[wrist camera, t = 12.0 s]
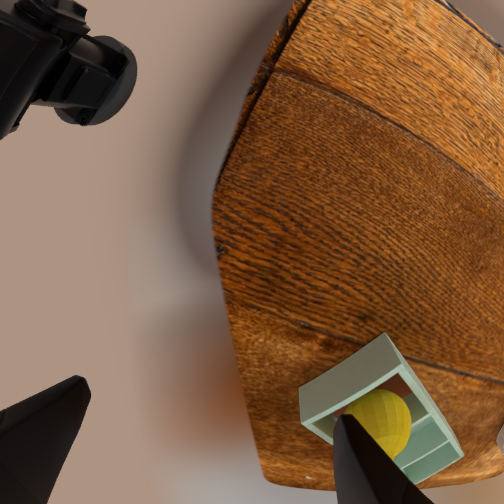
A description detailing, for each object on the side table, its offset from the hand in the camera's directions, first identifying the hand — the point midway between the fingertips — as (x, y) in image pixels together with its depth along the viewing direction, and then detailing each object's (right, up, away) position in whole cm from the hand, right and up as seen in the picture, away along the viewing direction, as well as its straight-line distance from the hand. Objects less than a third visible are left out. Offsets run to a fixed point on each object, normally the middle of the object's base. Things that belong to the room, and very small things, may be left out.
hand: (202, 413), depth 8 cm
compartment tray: (+17, -12, +15) cm, 26 cm away
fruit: (+11, -7, +13) cm, 19 cm away
